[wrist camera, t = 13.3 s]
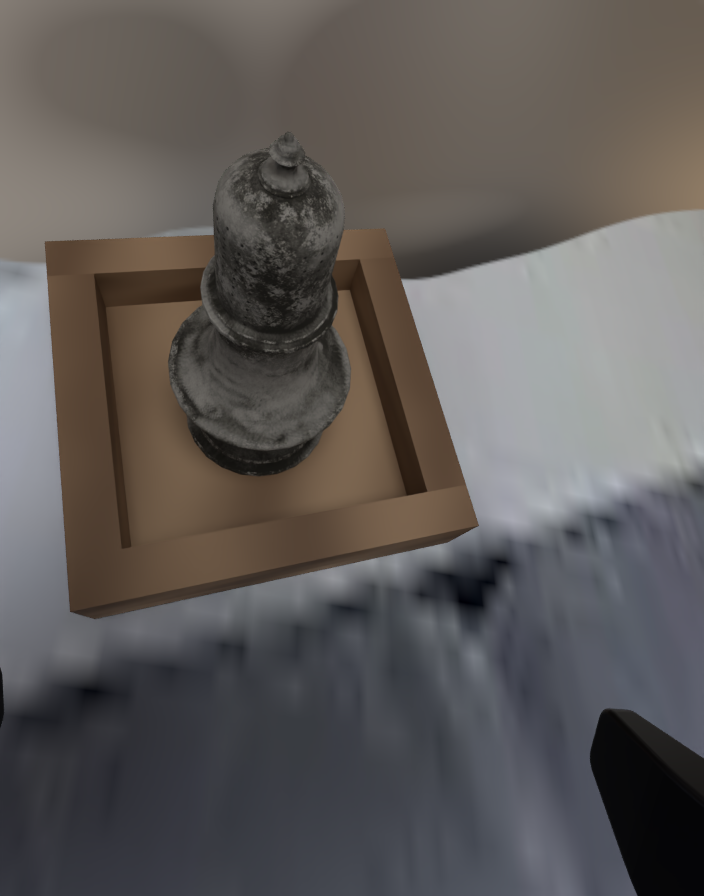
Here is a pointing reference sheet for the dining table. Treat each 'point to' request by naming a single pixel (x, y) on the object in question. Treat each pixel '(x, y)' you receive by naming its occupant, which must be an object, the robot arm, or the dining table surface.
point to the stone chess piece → (266, 317)
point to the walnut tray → (203, 481)
